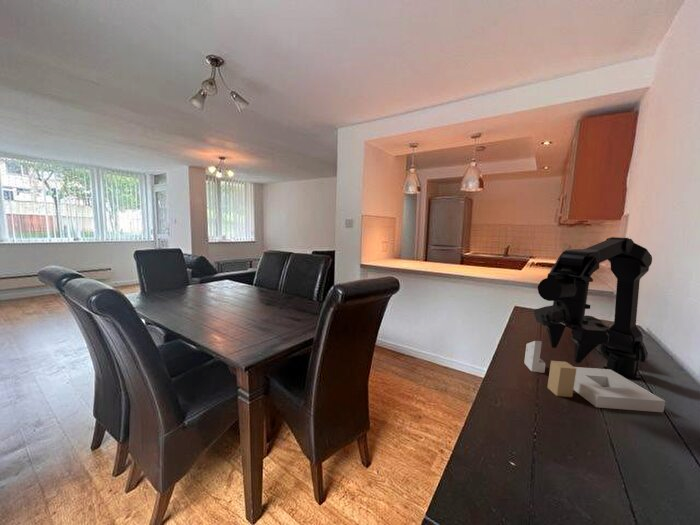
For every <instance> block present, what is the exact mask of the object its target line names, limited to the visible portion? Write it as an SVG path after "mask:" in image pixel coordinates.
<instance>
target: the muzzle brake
mask: <svg viewBox="0 0 700 525" xmlns="http://www.w3.org/2000/svg"><path fill="white" fill-rule="evenodd" d="M584 319H585V320H588V324H582V325H583V326H595V327H598V328H600V329H602V330H605V331H606V330H607V329H609V328H610V327H609V326H607V325H606V324H605V323H603V322H602V321H601V320H600V319H598V318H596V317H595V316H592V315H584ZM594 349H595V350H597V352H599V354H600V355H602V356H603V357H605V359H607V360H608V357H609V356H610V352H608V351H605V349H604V343H603V344H599V345H598V346H597V347H595V348H594Z"/></svg>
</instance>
